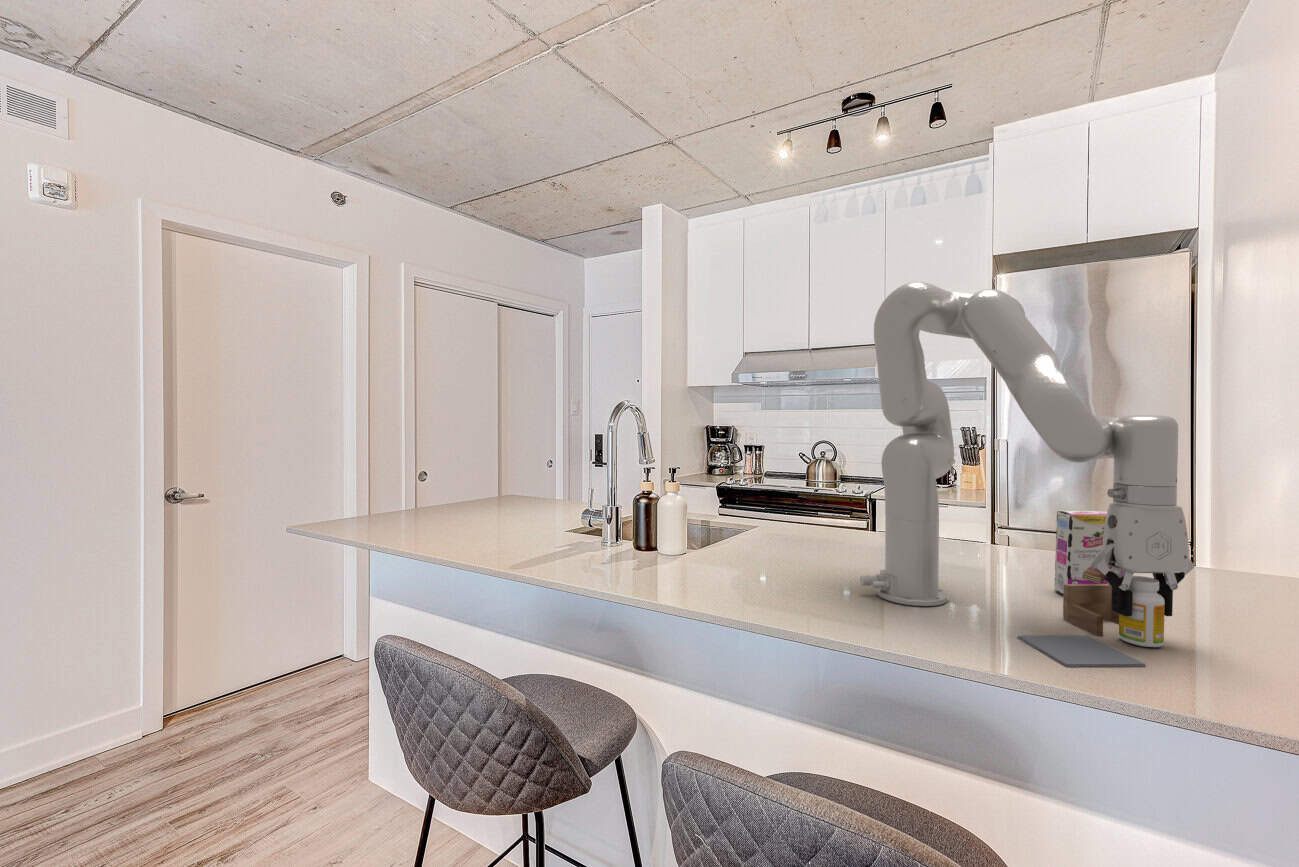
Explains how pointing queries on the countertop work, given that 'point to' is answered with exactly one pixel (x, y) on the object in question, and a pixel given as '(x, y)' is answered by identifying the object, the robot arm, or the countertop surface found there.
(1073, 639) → the slate mat
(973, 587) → the countertop surface
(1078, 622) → the shelf slot
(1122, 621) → the supplement bottle
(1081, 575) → the candy bar box
